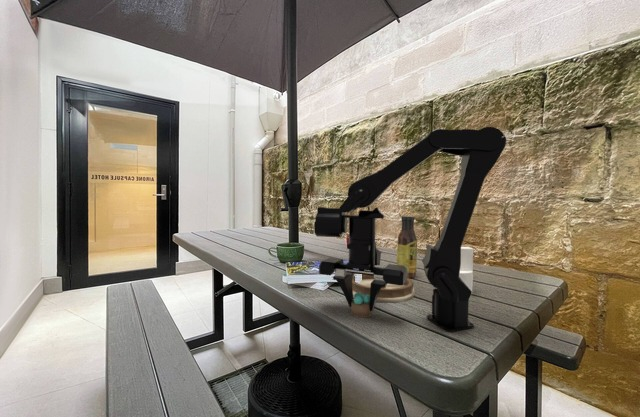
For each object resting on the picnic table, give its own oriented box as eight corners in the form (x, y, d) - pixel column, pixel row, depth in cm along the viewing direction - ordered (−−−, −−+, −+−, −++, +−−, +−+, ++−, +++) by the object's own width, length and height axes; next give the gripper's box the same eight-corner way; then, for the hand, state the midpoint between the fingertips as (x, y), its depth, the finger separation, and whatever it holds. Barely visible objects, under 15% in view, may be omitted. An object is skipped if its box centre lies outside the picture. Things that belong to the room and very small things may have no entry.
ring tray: (429, 297, 70) (429, 284, 70) (366, 306, 64) (366, 291, 64) (389, 278, 87) (390, 267, 87) (337, 283, 81) (337, 272, 81)
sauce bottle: (412, 279, 86) (413, 216, 85) (393, 276, 90) (394, 216, 89) (419, 275, 91) (420, 216, 90) (401, 272, 95) (401, 215, 94)
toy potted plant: (374, 315, 59) (375, 296, 59) (356, 318, 58) (356, 298, 58) (365, 308, 63) (365, 289, 63) (348, 310, 62) (348, 291, 62)
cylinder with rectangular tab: (463, 285, 80) (464, 245, 80) (478, 296, 71) (479, 251, 71) (432, 284, 81) (433, 244, 81) (442, 295, 72) (443, 250, 72)
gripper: (411, 236, 63) (410, 303, 64) (337, 232, 71) (336, 291, 72) (403, 243, 53) (402, 322, 54) (317, 237, 61) (317, 305, 62)
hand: (361, 308), depth 60 cm, fingers closed on toy potted plant, 4 cm apart
